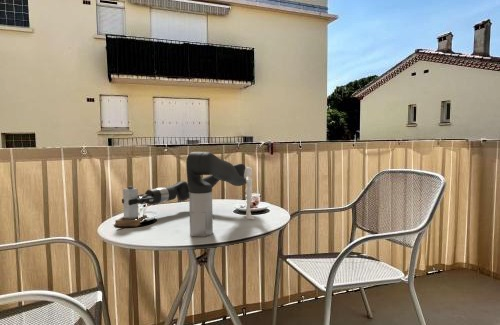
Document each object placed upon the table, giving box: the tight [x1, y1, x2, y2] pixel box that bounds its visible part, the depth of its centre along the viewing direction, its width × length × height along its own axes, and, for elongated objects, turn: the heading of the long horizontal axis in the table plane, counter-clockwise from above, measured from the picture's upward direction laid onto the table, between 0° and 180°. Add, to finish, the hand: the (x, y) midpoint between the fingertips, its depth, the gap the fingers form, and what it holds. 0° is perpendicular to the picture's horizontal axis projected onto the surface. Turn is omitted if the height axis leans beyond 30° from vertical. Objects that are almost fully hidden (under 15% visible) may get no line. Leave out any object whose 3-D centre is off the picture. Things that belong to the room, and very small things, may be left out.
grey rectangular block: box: [122, 185, 139, 220], centre depth 142 cm, size 4×4×15 cm
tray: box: [114, 214, 148, 227], centre depth 142 cm, size 10×10×2 cm
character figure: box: [244, 166, 255, 220], centre depth 148 cm, size 24×5×25 cm, turn 0°
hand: (125, 202), depth 140 cm, fingers closed on grey rectangular block, 4 cm apart
